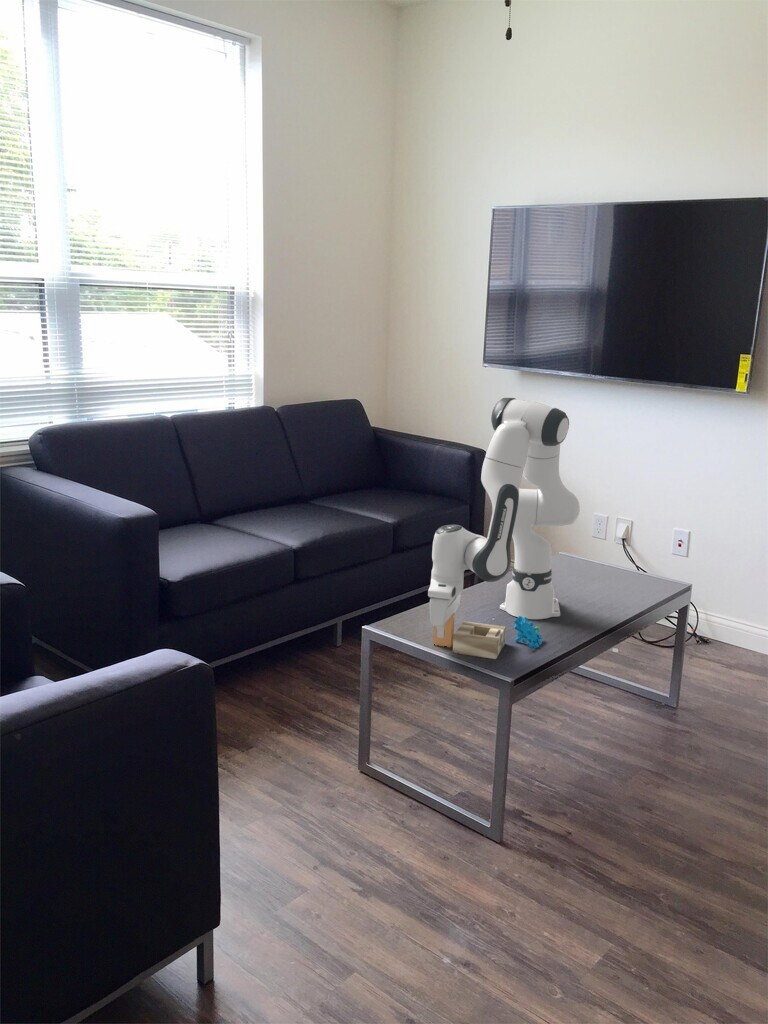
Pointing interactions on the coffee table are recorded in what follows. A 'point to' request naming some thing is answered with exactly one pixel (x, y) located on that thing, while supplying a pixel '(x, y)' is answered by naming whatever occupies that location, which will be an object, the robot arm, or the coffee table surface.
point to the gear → (527, 632)
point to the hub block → (479, 639)
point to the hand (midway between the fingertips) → (445, 631)
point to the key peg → (449, 633)
